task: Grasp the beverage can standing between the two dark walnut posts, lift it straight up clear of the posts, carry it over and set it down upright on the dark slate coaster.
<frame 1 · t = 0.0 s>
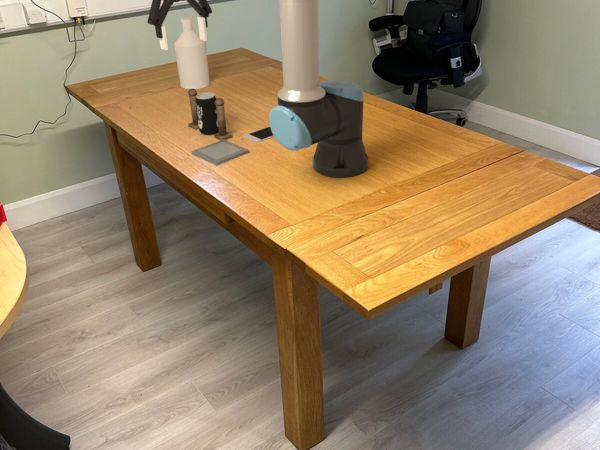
hand: (184, 44, 170), 28 cm above the table, fingers open, 13 cm apart
slate coaster: (220, 153, 171), on the table
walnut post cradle: (209, 131, 186), on the table
bottle: (195, 85, 230), on the table
smartphone: (269, 134, 184), on the table
beverage can: (210, 132, 186), on the table
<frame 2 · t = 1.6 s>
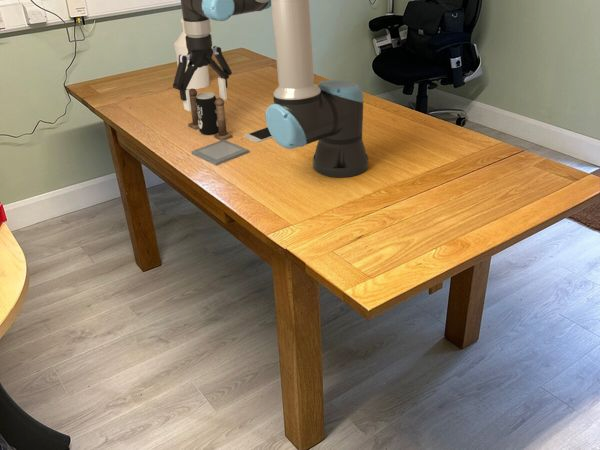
hand: (206, 104, 182), 9 cm above the table, fingers open, 13 cm apart
nothing on the table moved.
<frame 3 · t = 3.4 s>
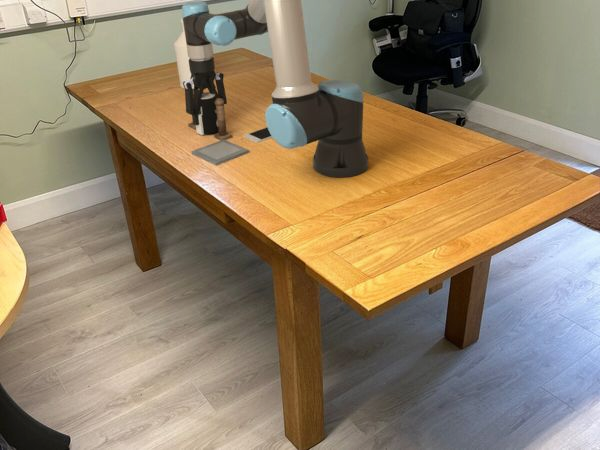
hand: (209, 130, 186), 0 cm above the table, fingers closed on beverage can, 7 cm apart
beverage can: (210, 132, 186), on the table, touching gripper
everything else where it was.
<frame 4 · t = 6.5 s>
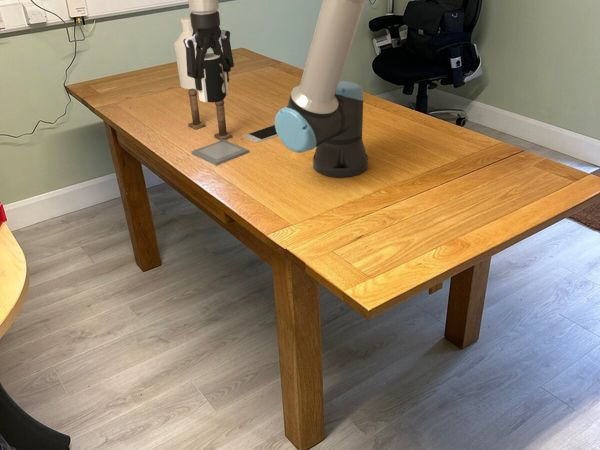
hand: (214, 97, 163), 17 cm above the table, fingers closed on beverage can, 7 cm apart
beverage can: (214, 100, 163), point 16 cm above the table, touching gripper
everything else where it was.
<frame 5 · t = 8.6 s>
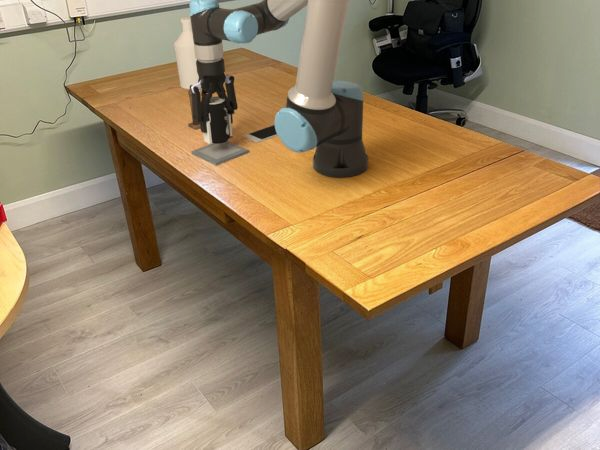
hand: (218, 138, 169), 5 cm above the table, fingers closed on beverage can, 7 cm apart
beverage can: (218, 140, 169), point 4 cm above the table, touching gripper
everything else where it was.
when the fingers open (3 cm above the table, at t = 9.8 s): beverage can drops 1 cm, resting on slate coaster.
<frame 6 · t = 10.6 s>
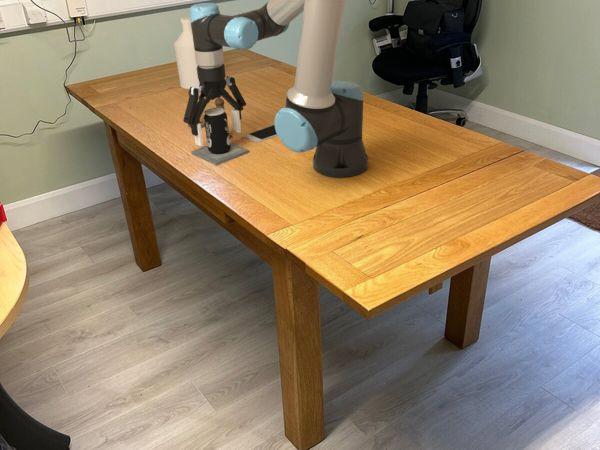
hand: (218, 138, 169), 5 cm above the table, fingers open, 13 cm apart
beverage can: (219, 151, 171), point 1 cm above the table, touching slate coaster
everything else where it was.
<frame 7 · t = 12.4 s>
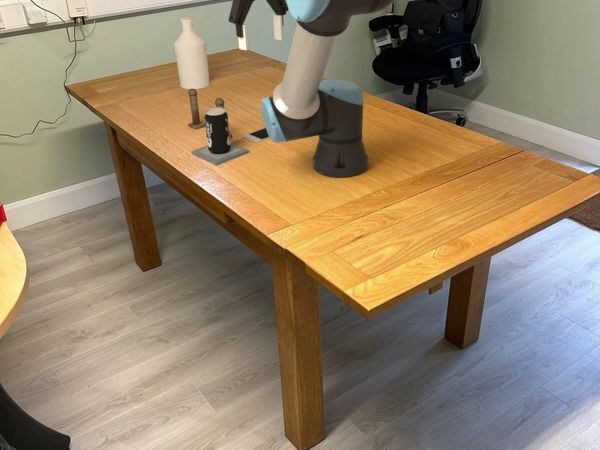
hand: (261, 44, 160), 30 cm above the table, fingers open, 13 cm apart
nothing on the table moved.
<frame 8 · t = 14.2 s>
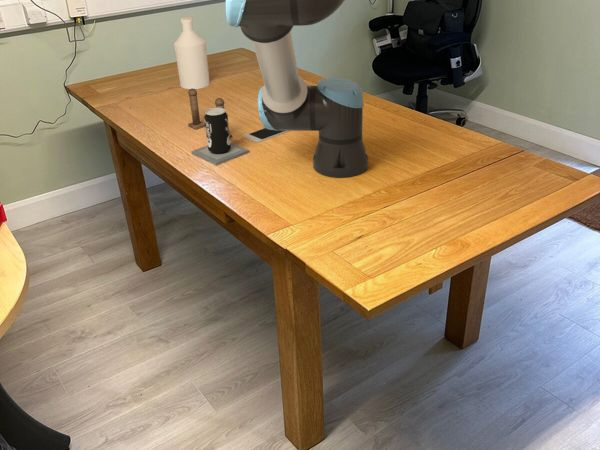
hand: (296, 21, 161), 35 cm above the table, fingers open, 13 cm apart
nothing on the table moved.
at the end: beverage can inside the target area on the slate coaster (0.2 cm from its centre), point 0.7 cm above the slate coaster's base; beverage can tilted 1°; the gripper is holding nothing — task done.
